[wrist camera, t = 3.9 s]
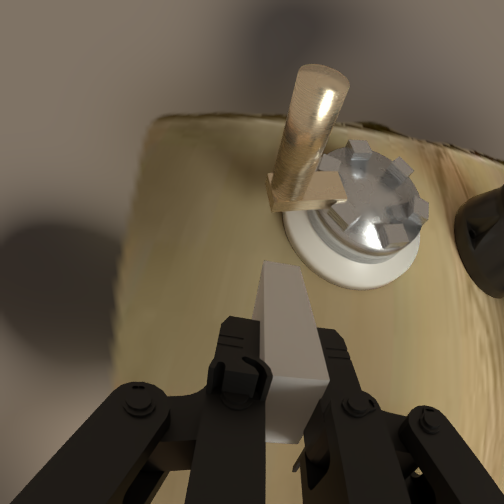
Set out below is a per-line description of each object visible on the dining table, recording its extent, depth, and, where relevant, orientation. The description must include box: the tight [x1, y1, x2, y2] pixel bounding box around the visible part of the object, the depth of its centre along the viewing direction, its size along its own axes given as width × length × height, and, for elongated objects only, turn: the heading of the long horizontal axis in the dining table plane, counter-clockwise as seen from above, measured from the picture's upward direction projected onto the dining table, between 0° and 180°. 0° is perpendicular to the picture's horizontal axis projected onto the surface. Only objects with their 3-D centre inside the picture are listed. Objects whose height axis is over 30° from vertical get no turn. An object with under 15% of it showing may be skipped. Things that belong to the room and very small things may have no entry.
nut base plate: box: [283, 157, 420, 290], centre depth 31 cm, size 16×16×2 cm
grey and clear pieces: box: [265, 64, 429, 264], centre depth 23 cm, size 16×12×16 cm
